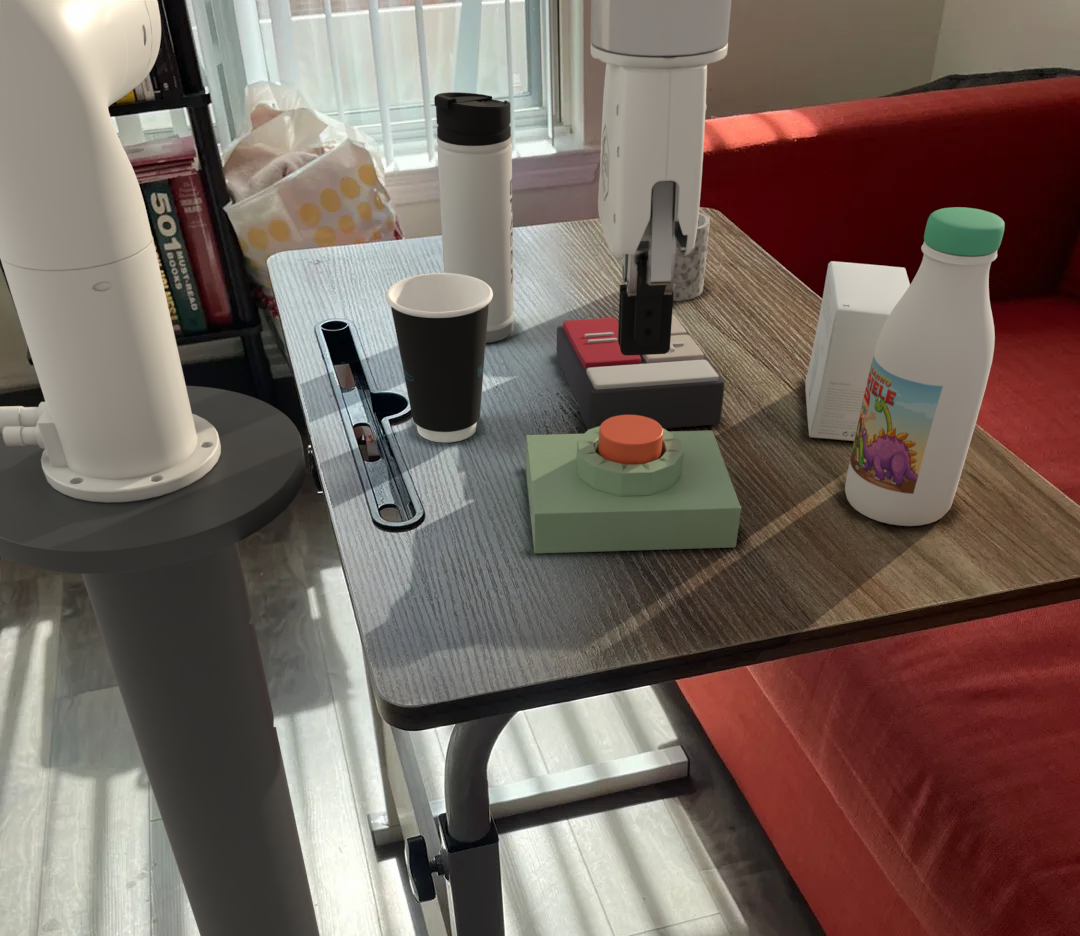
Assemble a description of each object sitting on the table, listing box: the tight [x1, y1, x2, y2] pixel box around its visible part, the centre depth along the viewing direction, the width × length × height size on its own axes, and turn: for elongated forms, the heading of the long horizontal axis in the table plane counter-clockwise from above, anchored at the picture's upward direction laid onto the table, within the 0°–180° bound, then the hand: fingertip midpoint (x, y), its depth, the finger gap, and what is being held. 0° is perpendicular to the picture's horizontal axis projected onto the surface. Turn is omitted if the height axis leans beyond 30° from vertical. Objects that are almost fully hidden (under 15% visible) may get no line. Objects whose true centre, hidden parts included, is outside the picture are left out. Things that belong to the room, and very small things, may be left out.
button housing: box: [525, 426, 742, 555], centre depth 79 cm, size 14×11×5 cm
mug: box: [673, 211, 711, 302], centre depth 108 cm, size 10×7×7 cm
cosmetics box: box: [804, 260, 911, 442], centre depth 88 cm, size 10×6×10 cm, turn 172°
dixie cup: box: [385, 272, 493, 443], centre depth 86 cm, size 8×8×11 cm
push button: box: [598, 415, 663, 465], centre depth 77 cm, size 4×4×2 cm
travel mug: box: [433, 91, 515, 344], centre depth 97 cm, size 6×7×20 cm
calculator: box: [556, 313, 726, 431], centre depth 93 cm, size 11×4×15 cm
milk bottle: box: [844, 206, 1006, 527], centre depth 75 cm, size 8×8×20 cm
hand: (643, 349), depth 72 cm, fingers closed
